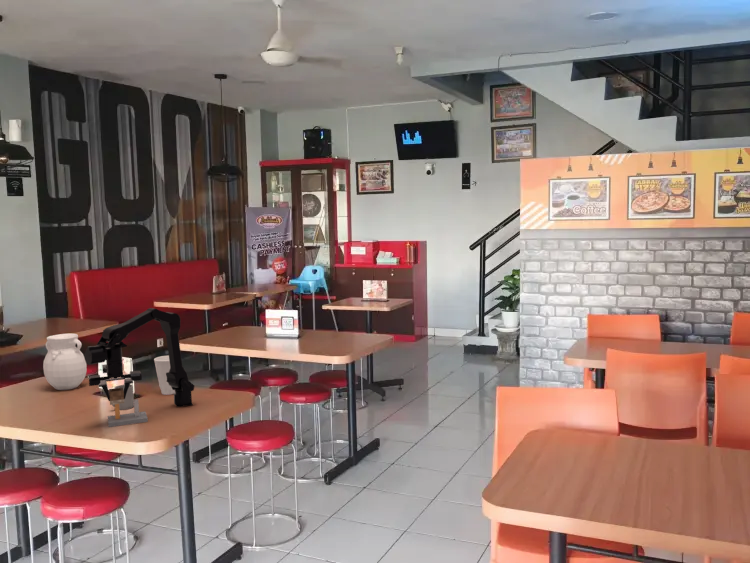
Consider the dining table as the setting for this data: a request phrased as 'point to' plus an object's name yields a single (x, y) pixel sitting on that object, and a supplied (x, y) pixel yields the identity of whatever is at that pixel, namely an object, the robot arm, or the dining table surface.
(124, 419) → the pin board
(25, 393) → the dining table surface
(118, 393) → the sleeve
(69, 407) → the dining table surface
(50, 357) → the white handled vase
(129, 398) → the cup
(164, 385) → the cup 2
